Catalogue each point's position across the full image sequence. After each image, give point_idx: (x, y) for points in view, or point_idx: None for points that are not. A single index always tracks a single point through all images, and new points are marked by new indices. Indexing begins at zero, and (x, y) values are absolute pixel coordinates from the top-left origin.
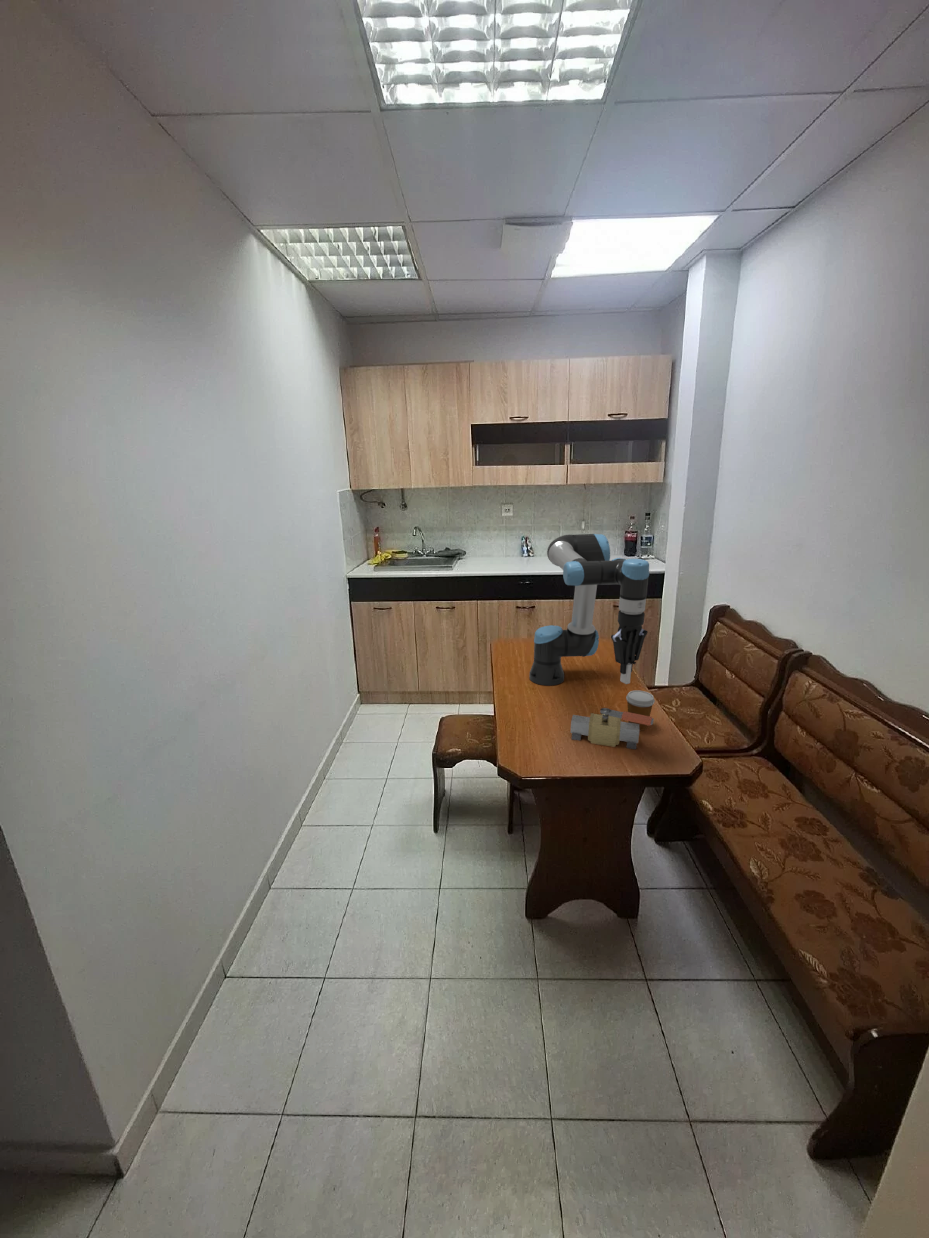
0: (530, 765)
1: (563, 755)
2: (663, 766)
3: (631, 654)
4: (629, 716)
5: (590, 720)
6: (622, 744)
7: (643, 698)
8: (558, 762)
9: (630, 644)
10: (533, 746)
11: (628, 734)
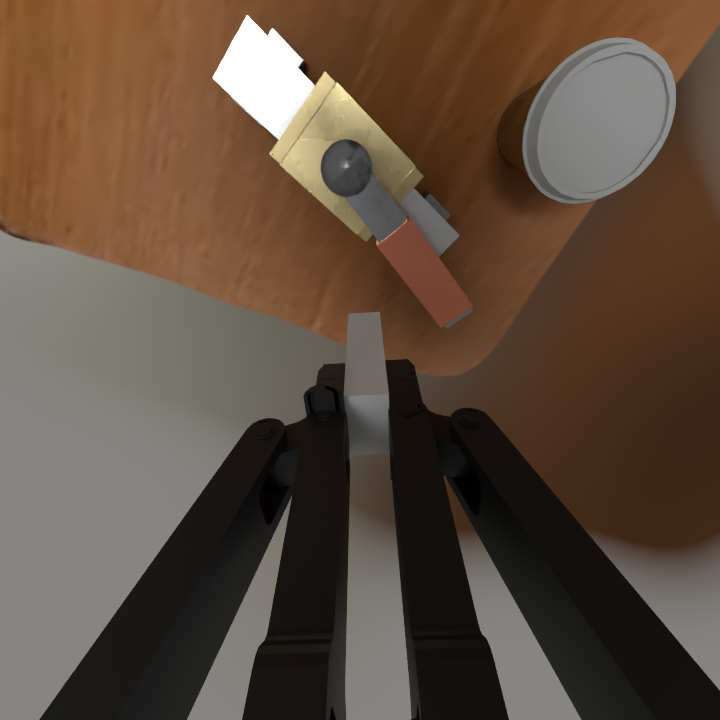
0: (42, 189)
1: (169, 185)
2: (409, 344)
3: (396, 522)
4: (398, 266)
5: (283, 141)
6: None
7: (593, 154)
8: (140, 213)
9: (407, 630)
10: (71, 76)
11: None
